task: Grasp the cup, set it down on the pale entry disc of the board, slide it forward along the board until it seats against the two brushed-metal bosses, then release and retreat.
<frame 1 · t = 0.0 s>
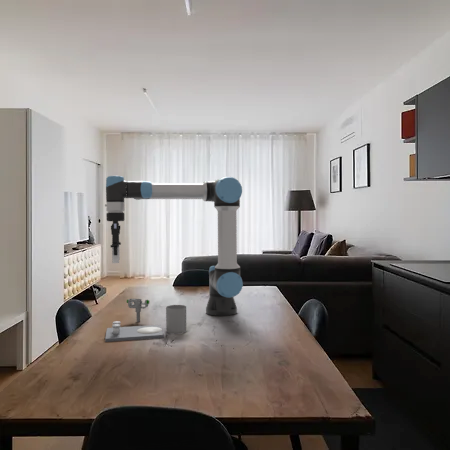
hand: (116, 261, 190), 28 cm above the table, fingers open, 13 cm apart
cup: (176, 331, 182), on the table
board: (134, 334, 177), on the table
mechanical component: (138, 321, 198), on the table
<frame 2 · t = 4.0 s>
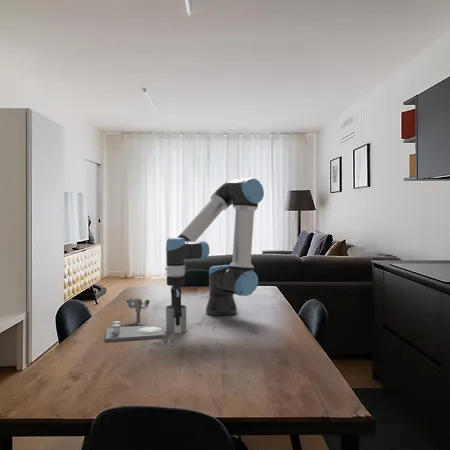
hand: (176, 330, 182), 0 cm above the table, fingers closed on cup, 8 cm apart
cup: (176, 331, 182), on the table, touching gripper
everything else where it was.
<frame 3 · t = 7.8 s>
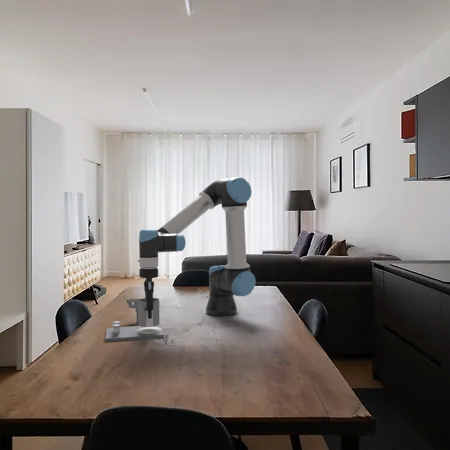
hand: (149, 323, 178), 4 cm above the table, fingers closed on cup, 8 cm apart
cup: (149, 324, 178), point 3 cm above the table, touching gripper
everything else where it was.
when the fingers open (2 cm above the table, at t = 11.6 s): cup stays where it is, resting on board.
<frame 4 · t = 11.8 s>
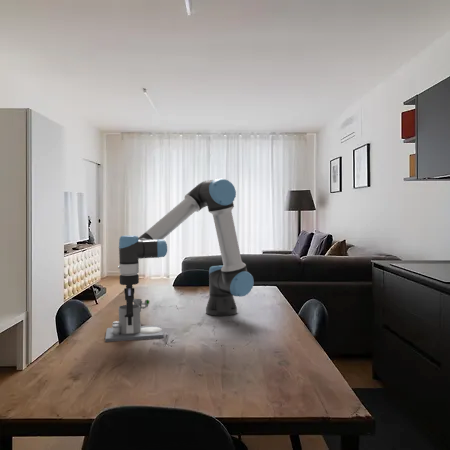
hand: (129, 329, 176), 2 cm above the table, fingers open, 10 cm apart
cup: (130, 331, 177), point 1 cm above the table, touching board
everything else where it was.
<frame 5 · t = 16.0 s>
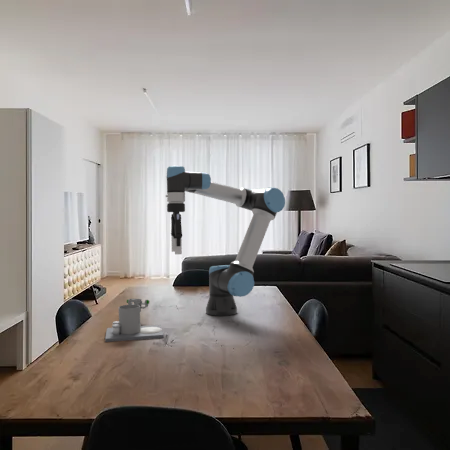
hand: (176, 252, 187), 32 cm above the table, fingers open, 13 cm apart
nothing on the table moved.
at the end: cup 0.3 cm from the target spot on the board, point 1.1 cm above the board's base; cup tilted 1°; the gripper is holding nothing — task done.
